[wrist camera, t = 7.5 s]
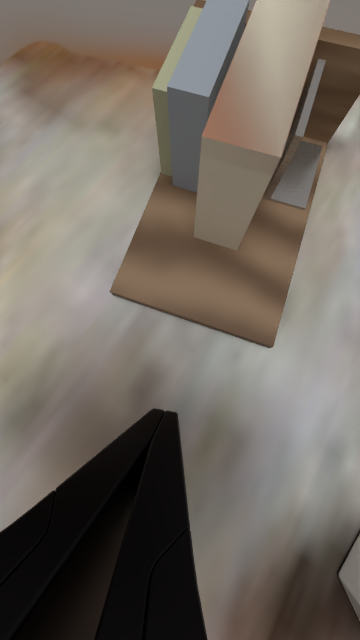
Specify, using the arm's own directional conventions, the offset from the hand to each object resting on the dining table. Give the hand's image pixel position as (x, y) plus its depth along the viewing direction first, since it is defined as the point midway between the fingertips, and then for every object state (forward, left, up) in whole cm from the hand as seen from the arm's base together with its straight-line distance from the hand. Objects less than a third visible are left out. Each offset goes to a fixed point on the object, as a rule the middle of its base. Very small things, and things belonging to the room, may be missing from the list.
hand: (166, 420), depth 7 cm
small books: (+12, +22, -13) cm, 28 cm away
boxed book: (+14, +16, -12) cm, 24 cm away
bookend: (+20, +14, -12) cm, 28 cm away
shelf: (+12, +14, -13) cm, 23 cm away
